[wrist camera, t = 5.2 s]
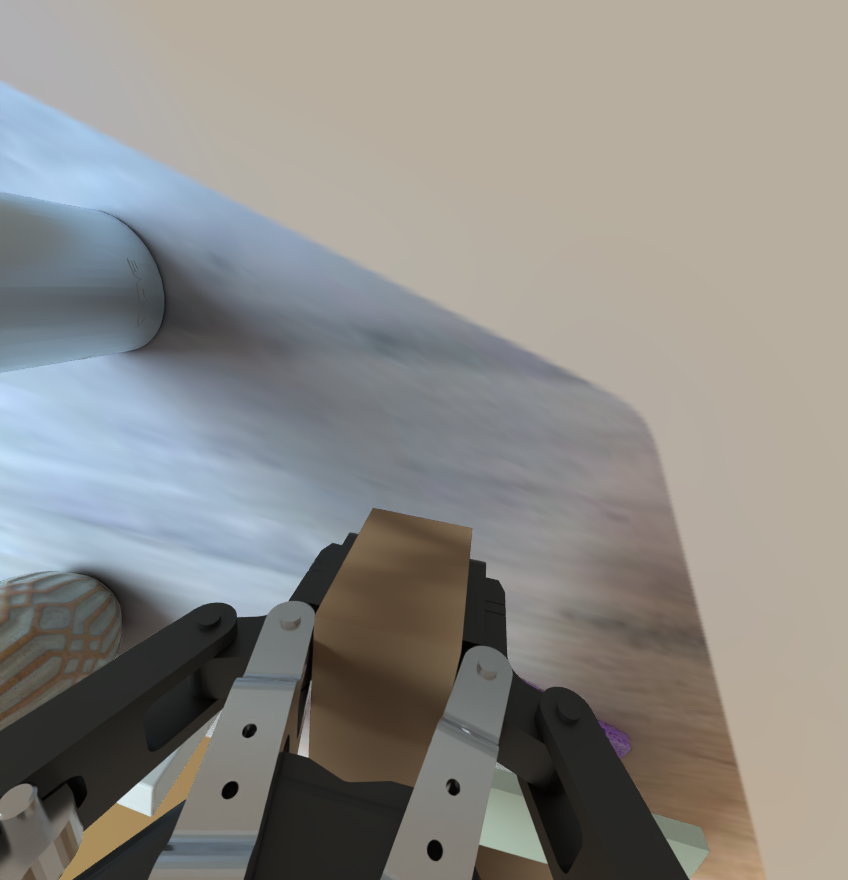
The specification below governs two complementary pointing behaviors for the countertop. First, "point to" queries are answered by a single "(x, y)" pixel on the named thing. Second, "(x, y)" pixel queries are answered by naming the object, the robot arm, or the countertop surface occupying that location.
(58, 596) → the vase
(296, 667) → the robot arm
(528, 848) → the wall shelf
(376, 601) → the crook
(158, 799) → the skincare box
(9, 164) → the countertop surface
